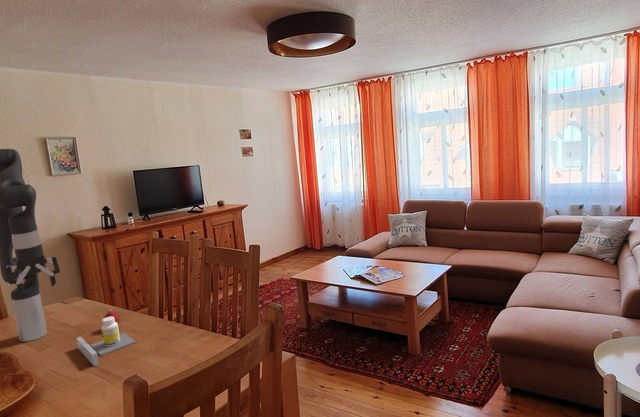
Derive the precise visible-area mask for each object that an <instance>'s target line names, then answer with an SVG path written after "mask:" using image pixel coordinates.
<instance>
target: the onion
mask: <svg viewBox="0 0 640 417" xmlns="http://www.w3.org/2000/svg"><path fill="white" fill-rule="evenodd" d="M107 317H114V319H115V321H114V322H116V323H117V324H118V325H119V323H120V321H121V317H120V315H119V314H118V312H116V311H114V310H113V309H110V310H109V311H108V312H107V313H106V315H105V316H104V318H107ZM104 318H103V319H104Z"/></svg>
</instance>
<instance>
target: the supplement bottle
mask: <svg viewBox="0 0 640 417" xmlns="http://www.w3.org/2000/svg"><path fill="white" fill-rule="evenodd" d="M101 321H102V322H101V323H102V325H101V333H102V340H104V345H105V346H114V345H116V344H118V343H119V342H120V335H119V334H120V331H119V323H118V324H117V323H116V322H114V321H115V319H114V317H107V318H103V319H102V320H101Z"/></svg>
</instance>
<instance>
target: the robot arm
mask: <svg viewBox="0 0 640 417" xmlns="http://www.w3.org/2000/svg"><path fill="white" fill-rule="evenodd" d="M36 201H37V191H36V189H35V188H34V187H33V186H32V185H31V184H26V182H25V180H24V176H23V164H22V159H21V155H20V154H19V152H18V151H17V150H16V149H14V148H0V274H1V277H2V280H3V281H4V282H5V283H7V284H9V285H16V288H14V289H13V290H11V292H10V298H11V303H12V308H13V313H14V319H15V324H16V331H17V334H18V340H19V342H23V343H24V342H31V341H35V340H39V339H41V338H43V337H44V336H46V335H47V333H48V331H47V324H46V319H45V313H44V308H43V303H42V302H43V301H42V298H41V292H40V280H39V273H41V272H44V273H45V274H47V275H49V280H50V284H51V287H55V285H56V284H57V280H56V277H55V276H56V274H59V273H60V272H61V270H60V267H59V264H58V260H57V257H56V255H51V256H50V257H45V253H44V249H43V244H42V239H41V236H40V233H39V231H38V230H39V229H38V226H37V221H36V218H35V217H36V215H35V212H36V211H35V209H36V203H37V202H36ZM23 207H25V208H23ZM13 251H14V253H15V257H13ZM48 262H49V263H50V264H52V265H53V268H54V269H53V270H51V269H50V268H49V267H47V266H46V264H47V263H48ZM22 281H23V282H22Z"/></svg>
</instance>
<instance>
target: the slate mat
mask: <svg viewBox="0 0 640 417" xmlns="http://www.w3.org/2000/svg"><path fill="white" fill-rule="evenodd" d="M119 335H120V342H119V343H118V344H116V345H114V346H105V345H104V340H103V339H102V340H99V341H97V342H94V343H91V344H90V346H91V347H92V348H93V349H94V350H95V351H96V352H97V355H98V356H104V355H106V354H110V353H112V352H115V351H117V350H121V349H123V348H126V347H129V346H131V345H134V344H136V342H137V341H135V340H134V339H133V338H132V337H130V336H129V335H128V334H127V333H125V332H122V333H119Z"/></svg>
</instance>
